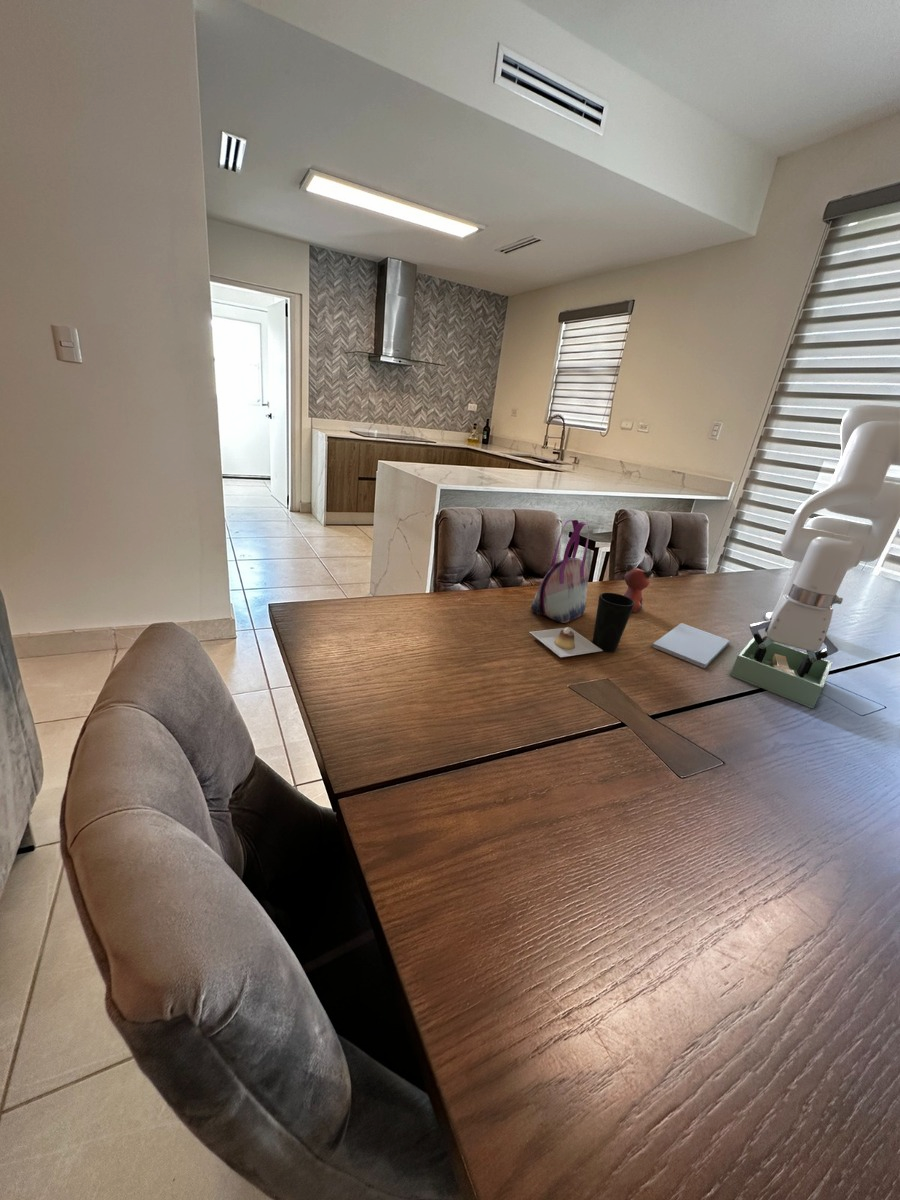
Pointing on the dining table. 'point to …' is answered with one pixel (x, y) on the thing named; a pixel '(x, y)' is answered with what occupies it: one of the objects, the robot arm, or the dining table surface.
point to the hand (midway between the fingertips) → (778, 668)
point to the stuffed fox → (636, 585)
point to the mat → (691, 644)
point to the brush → (781, 664)
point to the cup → (611, 620)
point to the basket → (782, 673)
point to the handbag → (564, 583)
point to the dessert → (565, 642)
